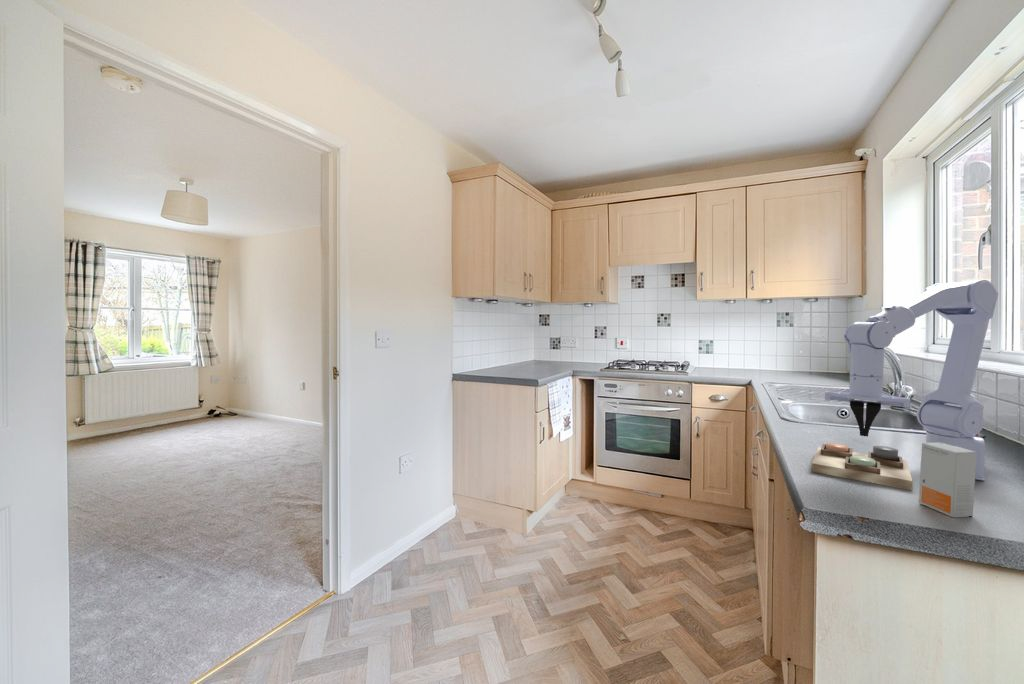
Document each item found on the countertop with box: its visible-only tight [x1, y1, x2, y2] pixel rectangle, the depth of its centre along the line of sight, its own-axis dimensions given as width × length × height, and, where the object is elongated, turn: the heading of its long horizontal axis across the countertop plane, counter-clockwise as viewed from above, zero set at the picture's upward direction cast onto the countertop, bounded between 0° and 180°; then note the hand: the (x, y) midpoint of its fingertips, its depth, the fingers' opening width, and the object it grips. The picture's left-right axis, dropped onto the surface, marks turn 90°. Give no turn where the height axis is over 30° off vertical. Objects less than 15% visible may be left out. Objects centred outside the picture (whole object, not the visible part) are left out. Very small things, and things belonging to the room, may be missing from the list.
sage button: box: [850, 456, 875, 468], centre depth 95 cm, size 4×4×2 cm
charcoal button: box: [872, 445, 899, 459], centre depth 98 cm, size 4×4×2 cm
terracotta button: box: [825, 442, 849, 453], centre depth 105 cm, size 4×4×2 cm
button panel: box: [811, 443, 913, 491], centre depth 99 cm, size 17×16×3 cm
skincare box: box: [918, 442, 977, 518], centre depth 78 cm, size 6×4×12 cm
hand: (864, 435), depth 95 cm, fingers closed
